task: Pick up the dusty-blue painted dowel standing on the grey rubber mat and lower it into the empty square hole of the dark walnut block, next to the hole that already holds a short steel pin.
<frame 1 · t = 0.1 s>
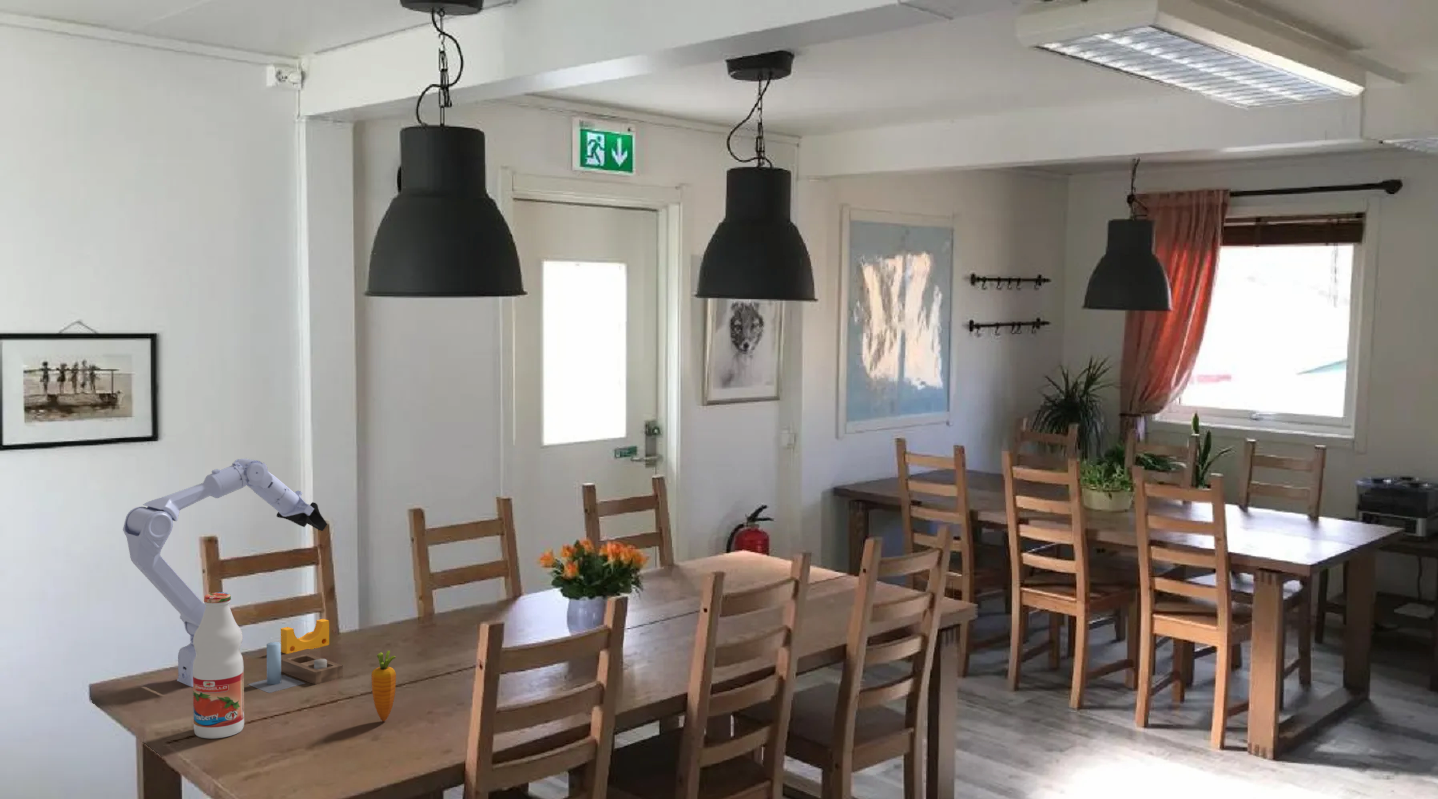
hand: (315, 525, 287), 32 cm above the table, tool tilted 50°, fingers open, 7 cm apart
white yogurt drink bottle: (219, 732, 237), on the table
mat: (276, 685, 265), on the table
pipe clamp: (303, 649, 294), on the table
carrot: (383, 722, 244), on the table
hole block: (311, 676, 273), on the table
dowel: (274, 682, 266), resting on mat
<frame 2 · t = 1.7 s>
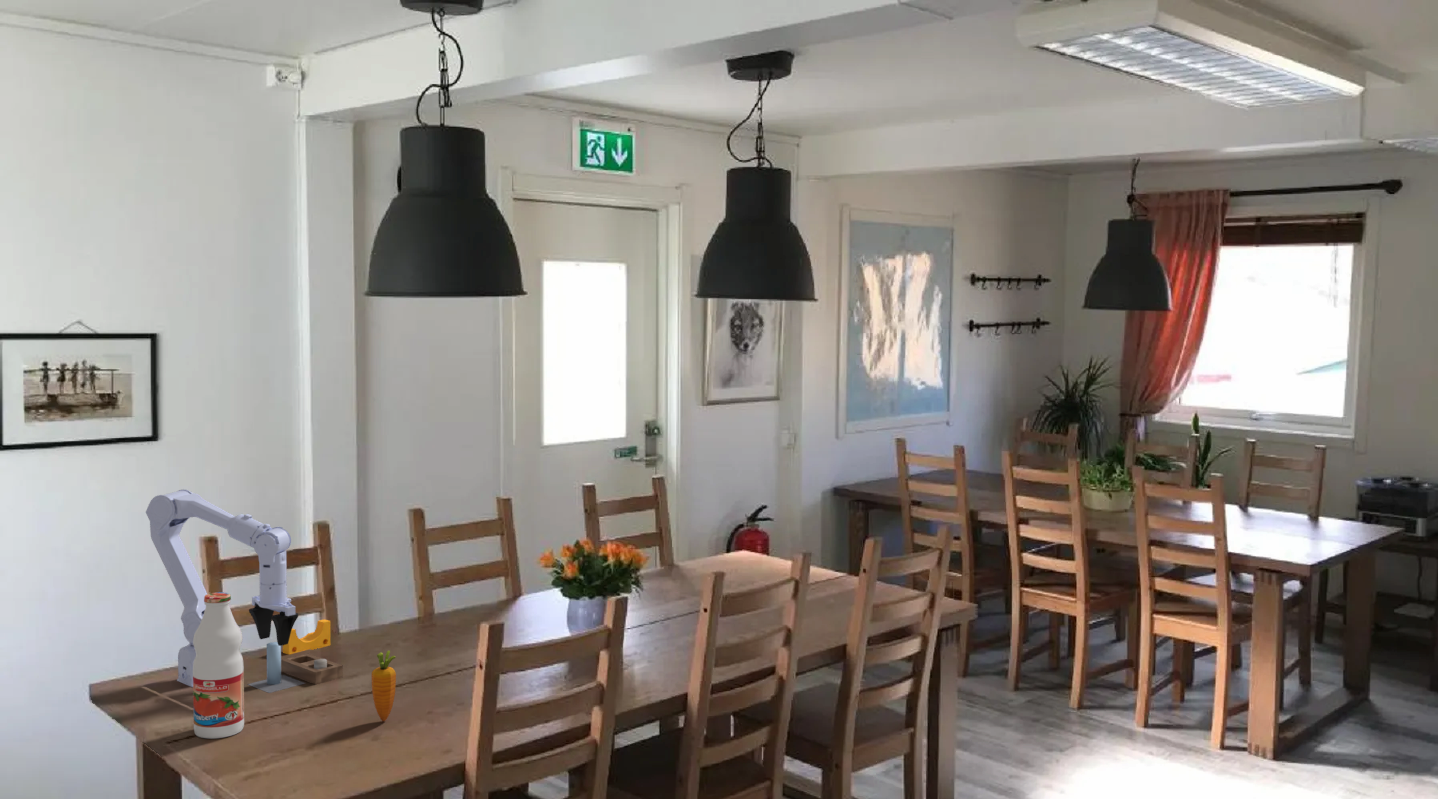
hand: (273, 641, 265), 10 cm above the table, tool pointing down, fingers open, 7 cm apart
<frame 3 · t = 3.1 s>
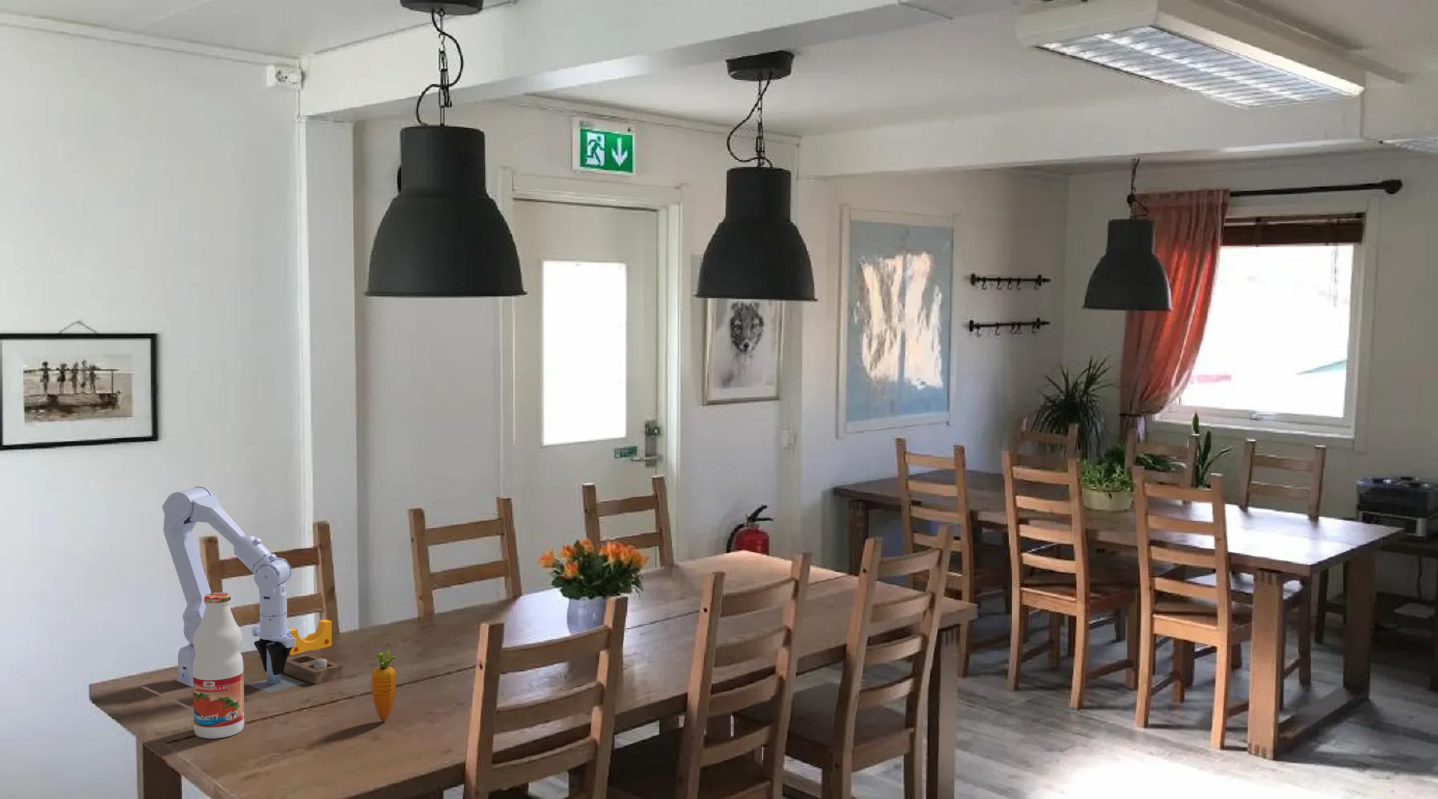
hand: (274, 672, 266), 3 cm above the table, tool pointing down, fingers closed on dowel, 3 cm apart
dowel: (274, 682, 266), resting on mat, touching gripper
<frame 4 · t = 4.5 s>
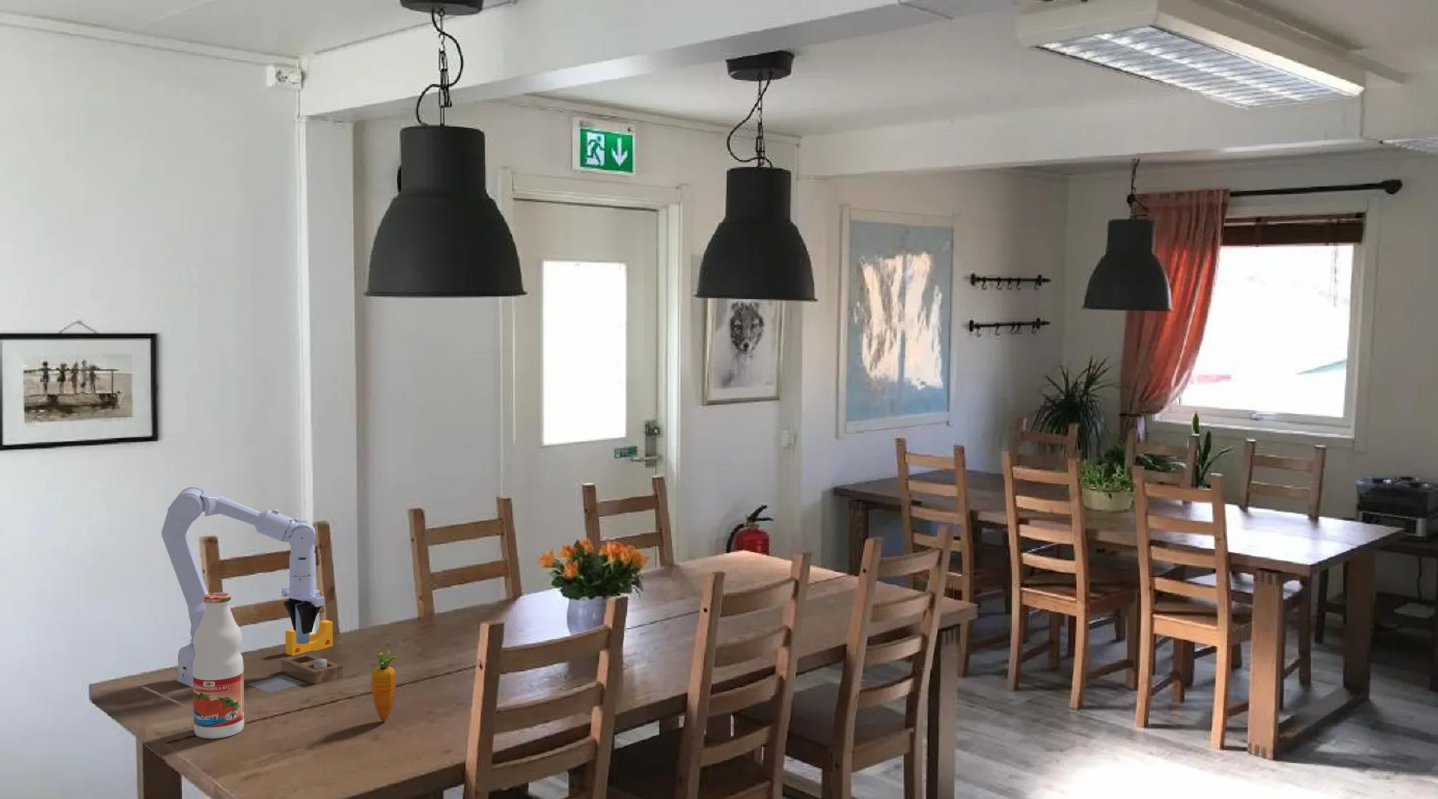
hand: (303, 631, 274), 10 cm above the table, tool pointing down, fingers closed on dowel, 3 cm apart
dowel: (303, 642, 274), point 7 cm above the table, touching gripper
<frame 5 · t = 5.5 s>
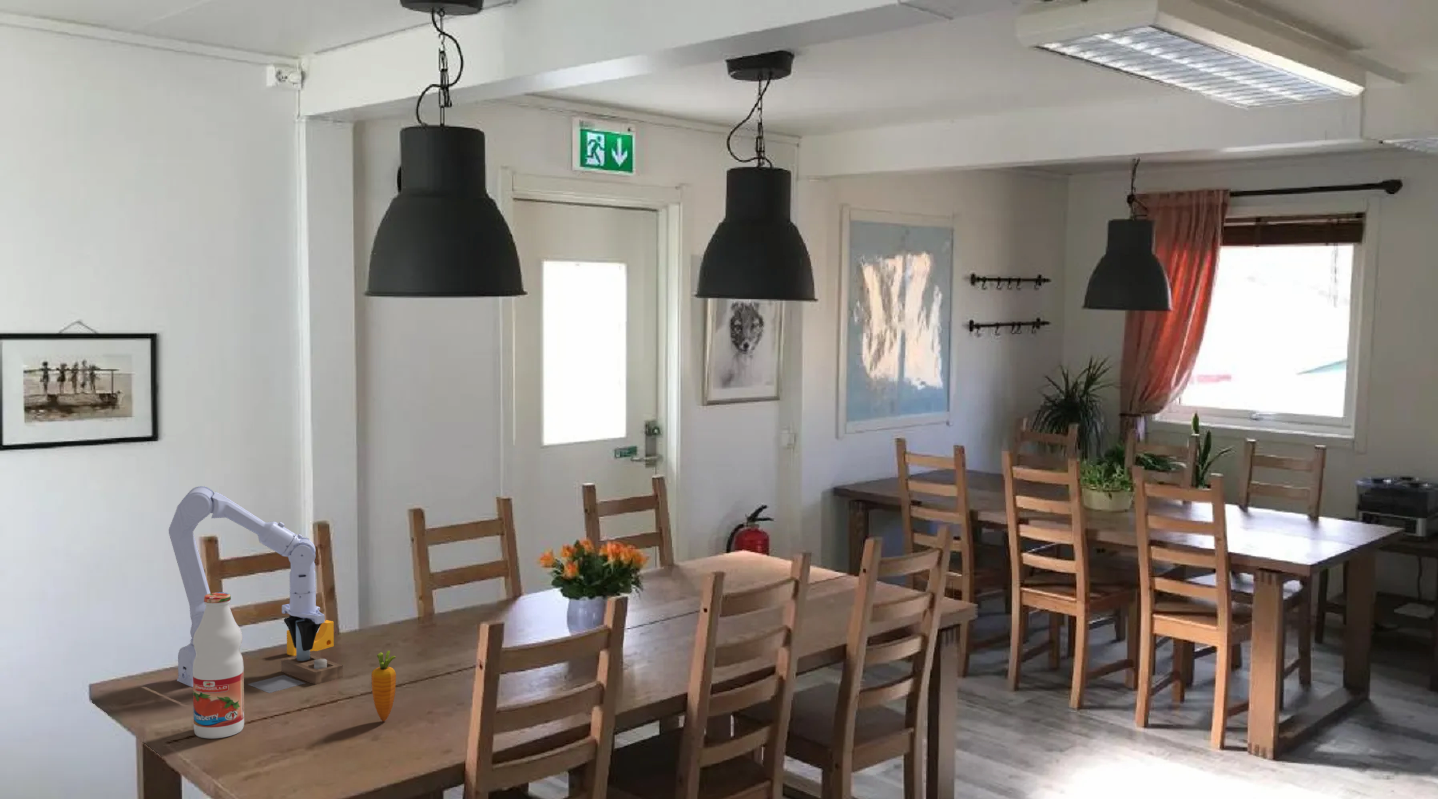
hand: (303, 648, 274), 6 cm above the table, tool pointing down, fingers closed on dowel, 3 cm apart
dowel: (303, 658, 274), point 3 cm above the table, touching gripper
when the fingers open (4 cm above the table, at t = 6.2 s): dowel drops 1 cm, resting in hole block.
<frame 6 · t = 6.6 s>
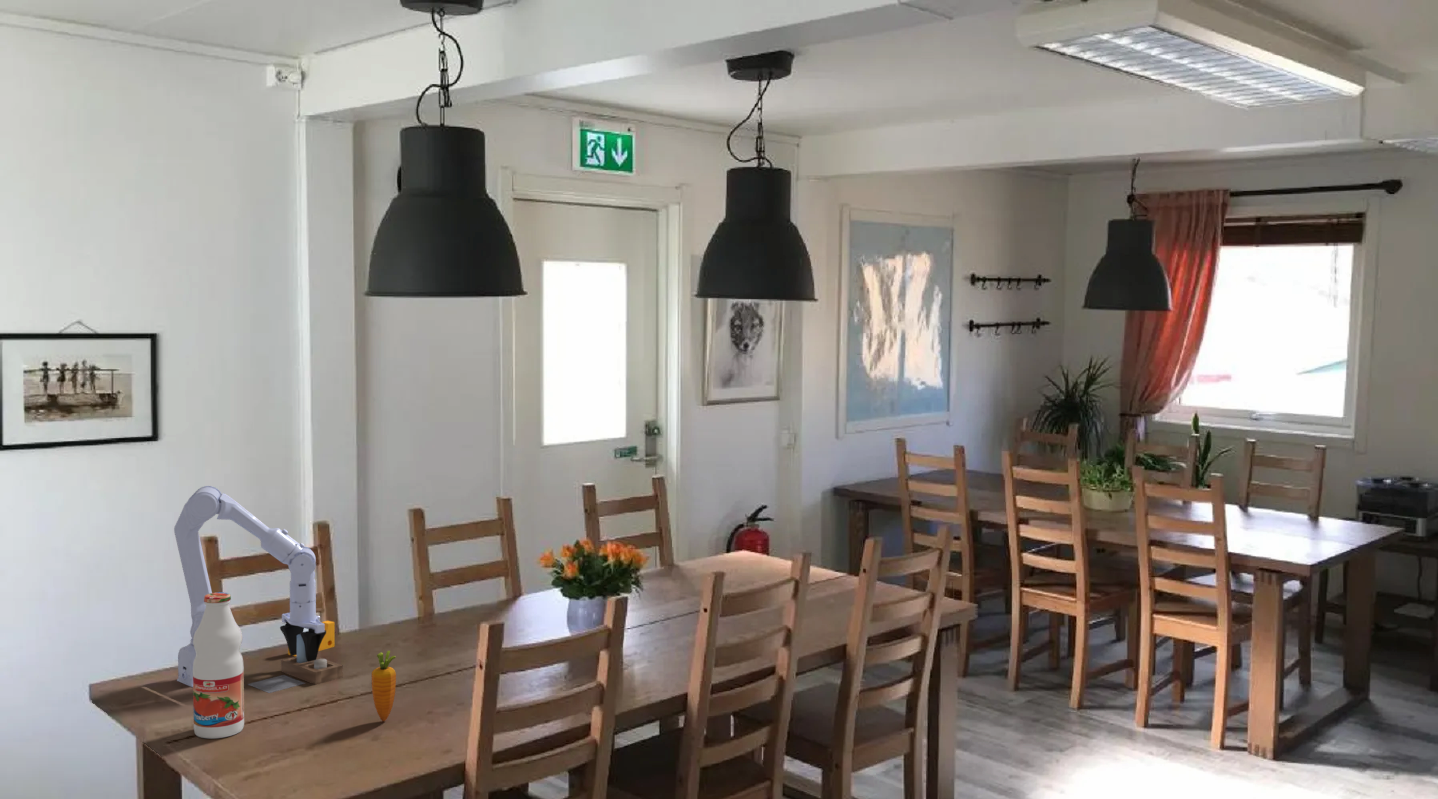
hand: (303, 657, 274), 4 cm above the table, tool pointing down, fingers open, 6 cm apart
dowel: (303, 673, 275), resting in hole block
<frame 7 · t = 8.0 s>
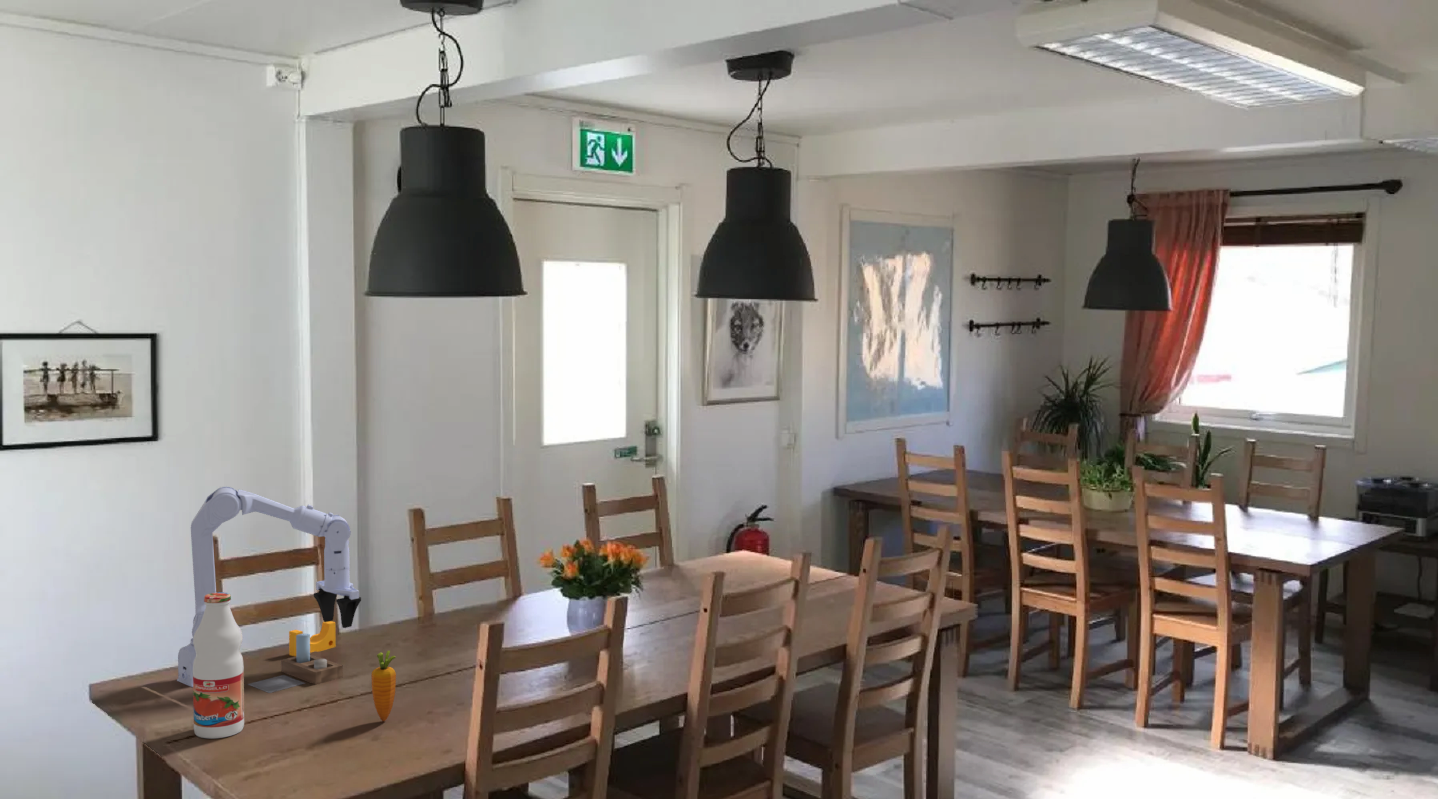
hand: (337, 624, 278), 11 cm above the table, tool pointing down, fingers open, 7 cm apart
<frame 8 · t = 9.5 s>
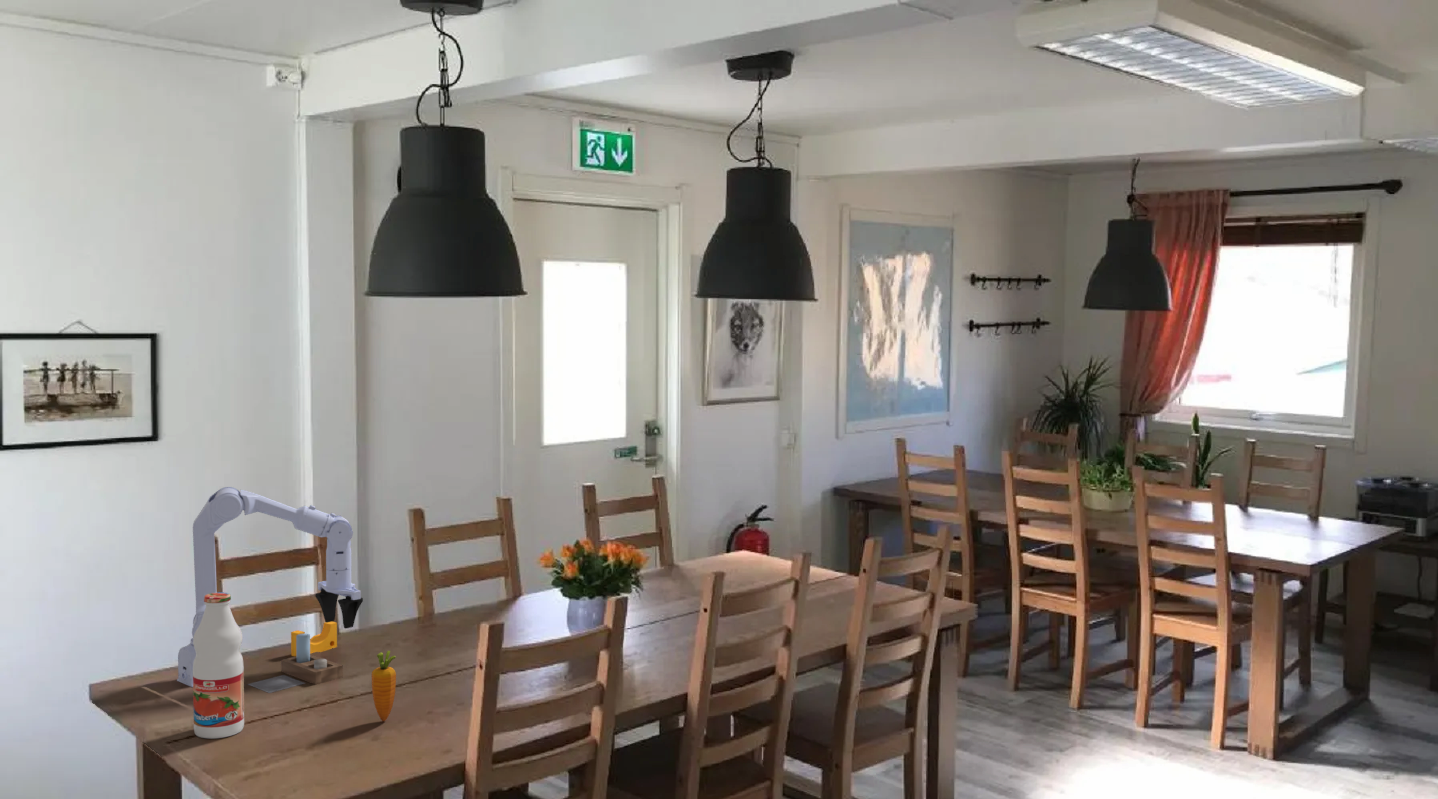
hand: (339, 624, 279), 10 cm above the table, tool pointing down, fingers open, 7 cm apart
at the end: dowel 0.0 cm from the target spot on the hole block, point 0.0 cm above the hole block's base; dowel tilted 0°; the gripper is holding nothing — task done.
